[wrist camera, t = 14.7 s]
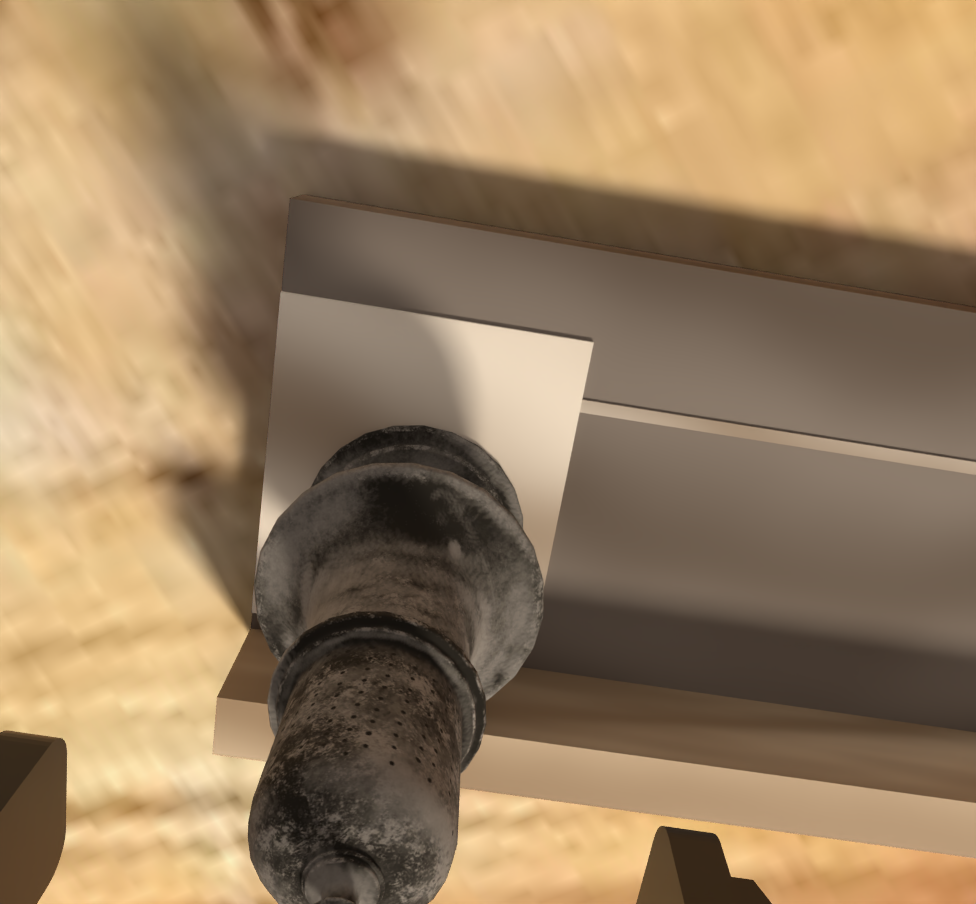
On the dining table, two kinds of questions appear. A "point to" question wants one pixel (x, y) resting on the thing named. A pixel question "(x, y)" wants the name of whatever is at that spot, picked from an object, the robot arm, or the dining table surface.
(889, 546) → the board
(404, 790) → the dark stone finial
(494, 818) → the dining table surface
